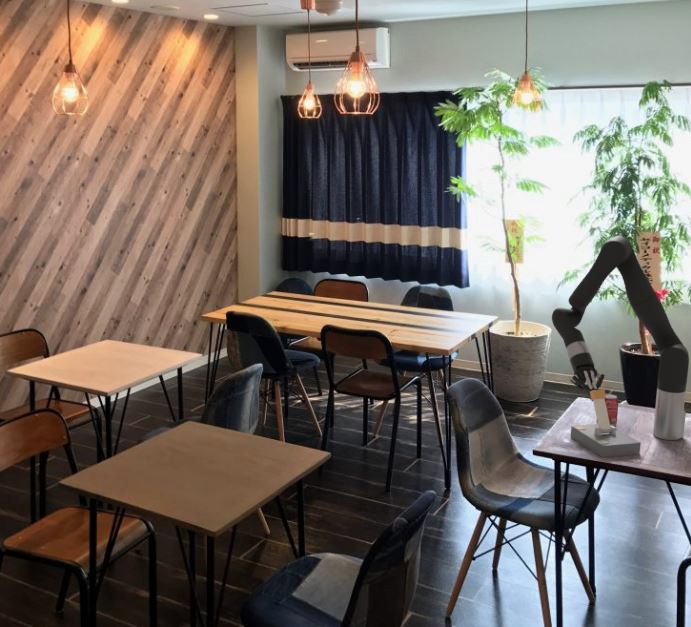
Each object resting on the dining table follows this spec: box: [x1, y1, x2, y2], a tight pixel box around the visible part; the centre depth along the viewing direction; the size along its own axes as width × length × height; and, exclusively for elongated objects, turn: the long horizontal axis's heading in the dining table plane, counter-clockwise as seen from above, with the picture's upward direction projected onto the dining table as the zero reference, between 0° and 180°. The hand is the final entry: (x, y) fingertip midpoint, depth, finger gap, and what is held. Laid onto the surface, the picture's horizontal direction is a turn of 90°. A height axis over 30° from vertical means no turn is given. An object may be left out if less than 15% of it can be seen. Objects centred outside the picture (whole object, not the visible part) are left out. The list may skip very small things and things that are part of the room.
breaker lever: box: [590, 388, 611, 433], centre depth 276 cm, size 4×2×15 cm, turn 105°
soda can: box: [596, 393, 619, 428], centre depth 292 cm, size 7×7×12 cm
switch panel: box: [570, 423, 642, 458], centre depth 274 cm, size 14×20×6 cm
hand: (595, 400), depth 279 cm, fingers closed
